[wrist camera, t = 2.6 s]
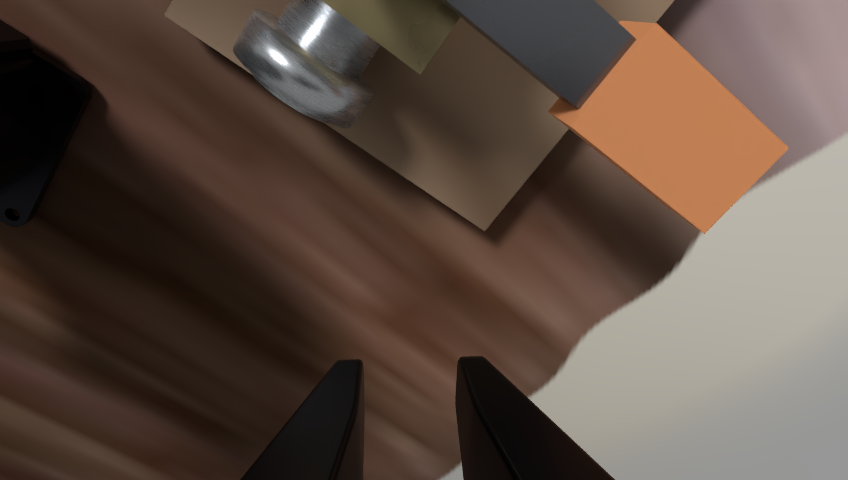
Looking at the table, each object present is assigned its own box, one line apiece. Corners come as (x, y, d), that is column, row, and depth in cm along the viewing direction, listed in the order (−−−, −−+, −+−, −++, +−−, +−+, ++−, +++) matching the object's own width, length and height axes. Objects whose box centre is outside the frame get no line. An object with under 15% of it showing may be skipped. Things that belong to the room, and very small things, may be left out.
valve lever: (311, -78, 11) (299, -92, 9) (380, -200, 10) (380, -239, 9) (668, 207, 14) (704, 233, 13) (740, 130, 14) (789, 148, 12)
